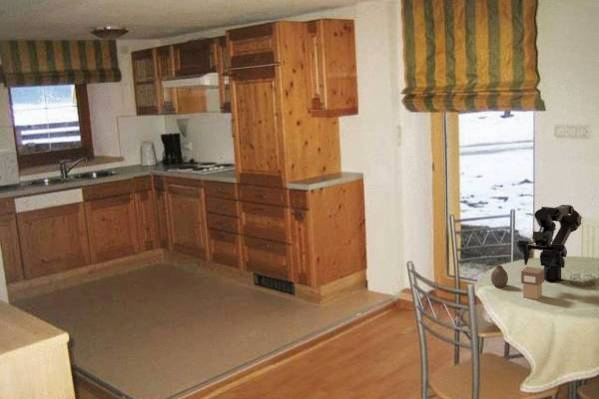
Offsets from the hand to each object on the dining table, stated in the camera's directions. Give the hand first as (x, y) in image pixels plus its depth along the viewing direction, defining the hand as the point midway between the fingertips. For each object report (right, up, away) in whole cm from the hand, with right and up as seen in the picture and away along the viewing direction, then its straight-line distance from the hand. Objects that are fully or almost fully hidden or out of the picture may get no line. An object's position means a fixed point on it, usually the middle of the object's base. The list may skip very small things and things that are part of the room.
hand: (536, 266), depth 257 cm
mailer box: (-2, -12, -1) cm, 12 cm away
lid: (-3, -6, -2) cm, 7 cm away
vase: (-11, -10, +13) cm, 20 cm away
